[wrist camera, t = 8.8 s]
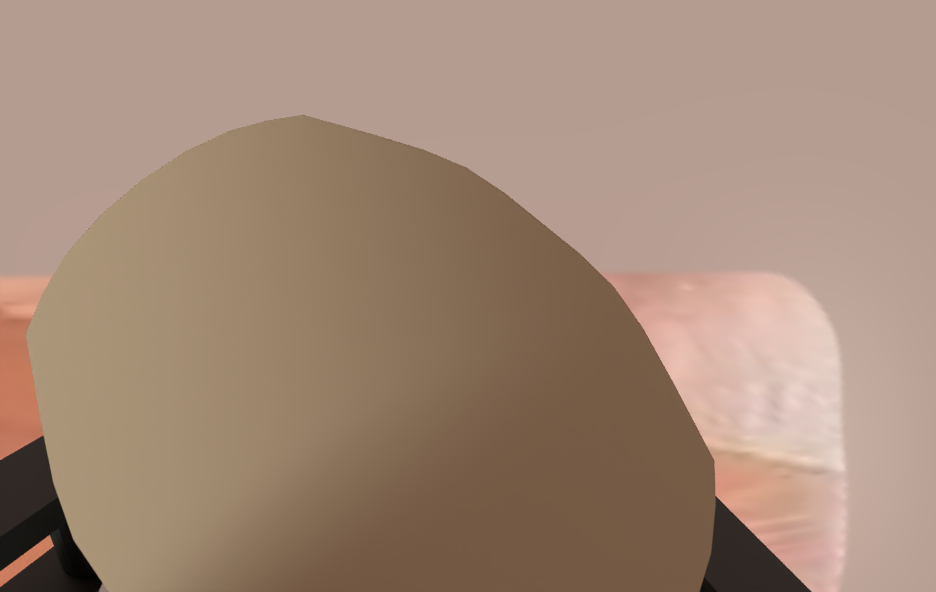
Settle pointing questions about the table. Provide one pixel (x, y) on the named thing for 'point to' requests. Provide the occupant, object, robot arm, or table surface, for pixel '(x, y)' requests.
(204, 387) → the handle
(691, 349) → the table surface
